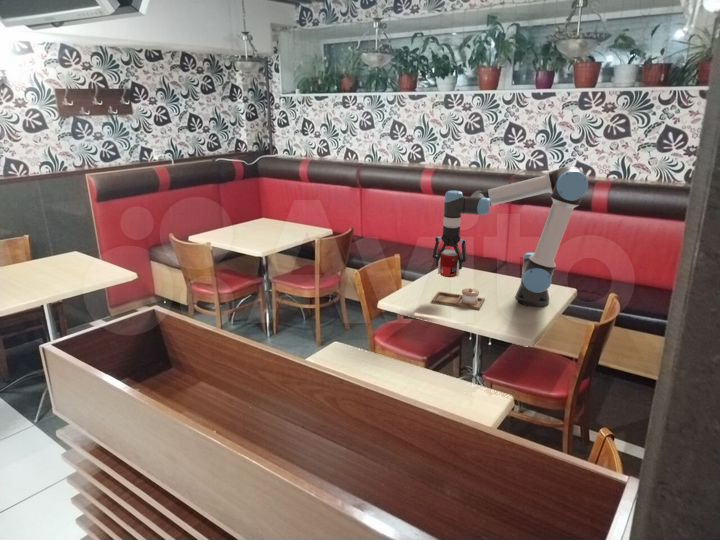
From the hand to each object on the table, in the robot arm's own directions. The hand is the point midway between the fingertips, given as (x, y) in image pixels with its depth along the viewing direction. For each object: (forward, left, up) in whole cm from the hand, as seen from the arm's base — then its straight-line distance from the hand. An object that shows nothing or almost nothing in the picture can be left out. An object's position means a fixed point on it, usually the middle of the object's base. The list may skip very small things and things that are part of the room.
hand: (448, 274), depth 246 cm
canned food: (0, 0, 0) cm, 0 cm away
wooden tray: (-5, 0, -14) cm, 15 cm away
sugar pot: (-11, 0, -13) cm, 16 cm away
